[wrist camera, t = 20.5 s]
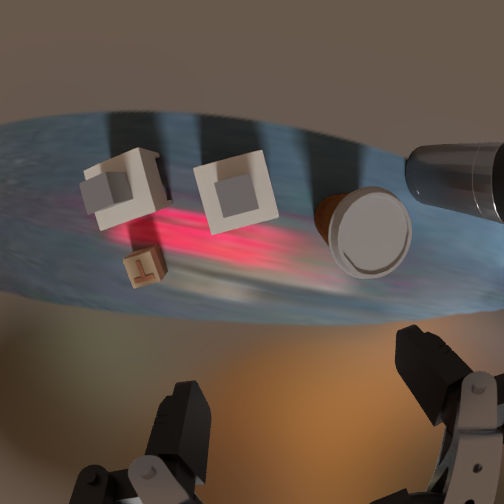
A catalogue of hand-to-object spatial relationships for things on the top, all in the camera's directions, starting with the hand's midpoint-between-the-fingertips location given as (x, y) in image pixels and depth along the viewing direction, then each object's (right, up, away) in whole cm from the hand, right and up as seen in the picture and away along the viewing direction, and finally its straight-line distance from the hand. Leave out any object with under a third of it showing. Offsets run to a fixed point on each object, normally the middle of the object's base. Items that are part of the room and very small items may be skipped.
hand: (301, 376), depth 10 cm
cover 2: (-4, +13, +25) cm, 28 cm away
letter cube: (-16, +3, +27) cm, 32 cm away
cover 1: (-16, +13, +24) cm, 32 cm away
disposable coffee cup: (+9, +9, +27) cm, 30 cm away
